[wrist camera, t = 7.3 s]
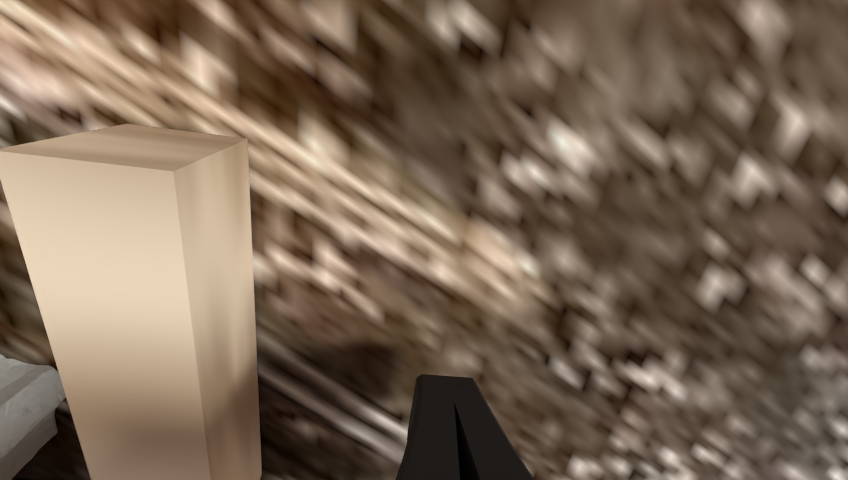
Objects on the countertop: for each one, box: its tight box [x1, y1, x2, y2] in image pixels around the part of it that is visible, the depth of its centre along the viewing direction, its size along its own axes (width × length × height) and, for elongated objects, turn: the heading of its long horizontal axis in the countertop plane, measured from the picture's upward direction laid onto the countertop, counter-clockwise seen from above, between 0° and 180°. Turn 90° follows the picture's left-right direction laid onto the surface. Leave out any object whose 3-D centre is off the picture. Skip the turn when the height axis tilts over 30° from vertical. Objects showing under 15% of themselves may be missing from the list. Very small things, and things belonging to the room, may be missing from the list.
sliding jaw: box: [0, 124, 262, 480], centre depth 9 cm, size 11×2×3 cm, turn 172°
